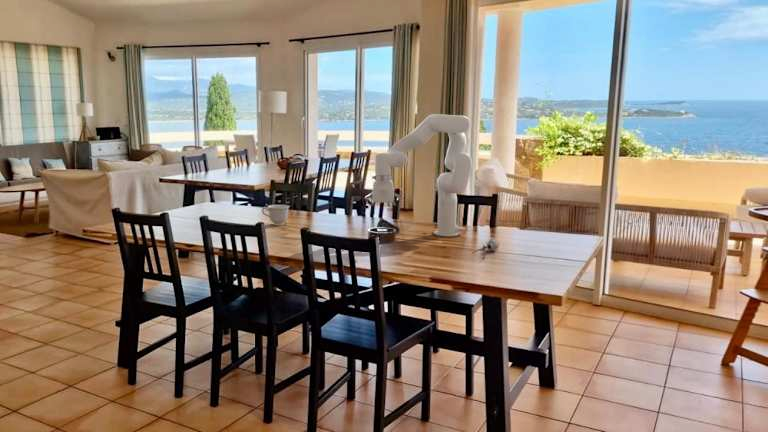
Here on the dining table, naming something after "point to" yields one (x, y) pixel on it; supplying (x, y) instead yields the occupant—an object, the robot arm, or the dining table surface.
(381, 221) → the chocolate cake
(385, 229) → the green cube
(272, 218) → the teacup
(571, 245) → the dining table surface
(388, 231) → the bowl
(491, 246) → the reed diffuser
